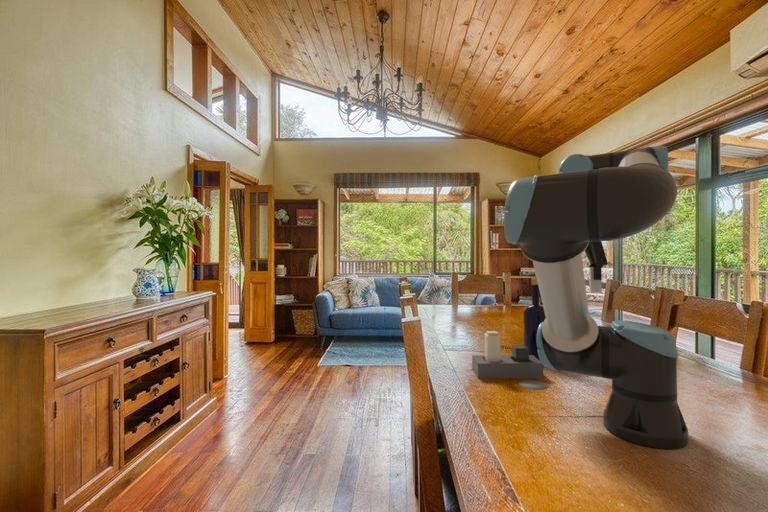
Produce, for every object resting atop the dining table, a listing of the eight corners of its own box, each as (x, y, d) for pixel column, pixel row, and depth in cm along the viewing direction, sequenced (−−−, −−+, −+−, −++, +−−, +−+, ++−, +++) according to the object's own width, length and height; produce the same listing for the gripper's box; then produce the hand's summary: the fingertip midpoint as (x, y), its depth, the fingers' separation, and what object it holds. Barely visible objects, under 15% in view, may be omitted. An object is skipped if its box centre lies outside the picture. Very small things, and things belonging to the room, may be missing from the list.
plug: (487, 373, 116) (487, 333, 116) (484, 369, 120) (484, 330, 120) (500, 373, 116) (500, 333, 116) (497, 369, 120) (496, 330, 120)
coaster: (553, 391, 104) (553, 389, 104) (524, 391, 104) (524, 389, 104) (542, 381, 112) (542, 379, 112) (515, 381, 112) (515, 379, 112)
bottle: (554, 364, 128) (554, 278, 127) (528, 364, 128) (527, 278, 127) (543, 357, 137) (543, 276, 136) (519, 357, 137) (518, 277, 137)
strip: (543, 379, 113) (543, 350, 113) (478, 379, 114) (477, 350, 114) (531, 369, 123) (531, 342, 123) (471, 369, 124) (471, 342, 124)
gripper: (623, 207, 89) (623, 294, 89) (574, 217, 114) (574, 285, 114) (591, 208, 89) (592, 295, 90) (549, 218, 114) (550, 285, 115)
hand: (582, 290), depth 102 cm, fingers open, 13 cm apart
